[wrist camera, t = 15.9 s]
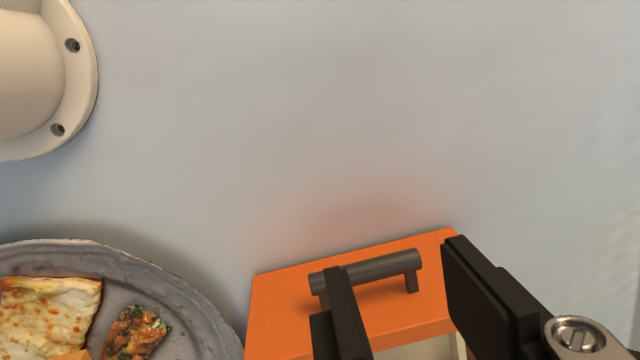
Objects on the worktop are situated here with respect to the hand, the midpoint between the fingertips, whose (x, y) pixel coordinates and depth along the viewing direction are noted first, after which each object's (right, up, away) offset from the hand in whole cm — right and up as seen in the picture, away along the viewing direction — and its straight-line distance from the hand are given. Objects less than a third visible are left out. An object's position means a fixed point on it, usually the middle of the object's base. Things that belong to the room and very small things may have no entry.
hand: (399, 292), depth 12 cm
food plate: (-22, -12, +20) cm, 32 cm away
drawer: (+1, -7, +20) cm, 21 cm away
